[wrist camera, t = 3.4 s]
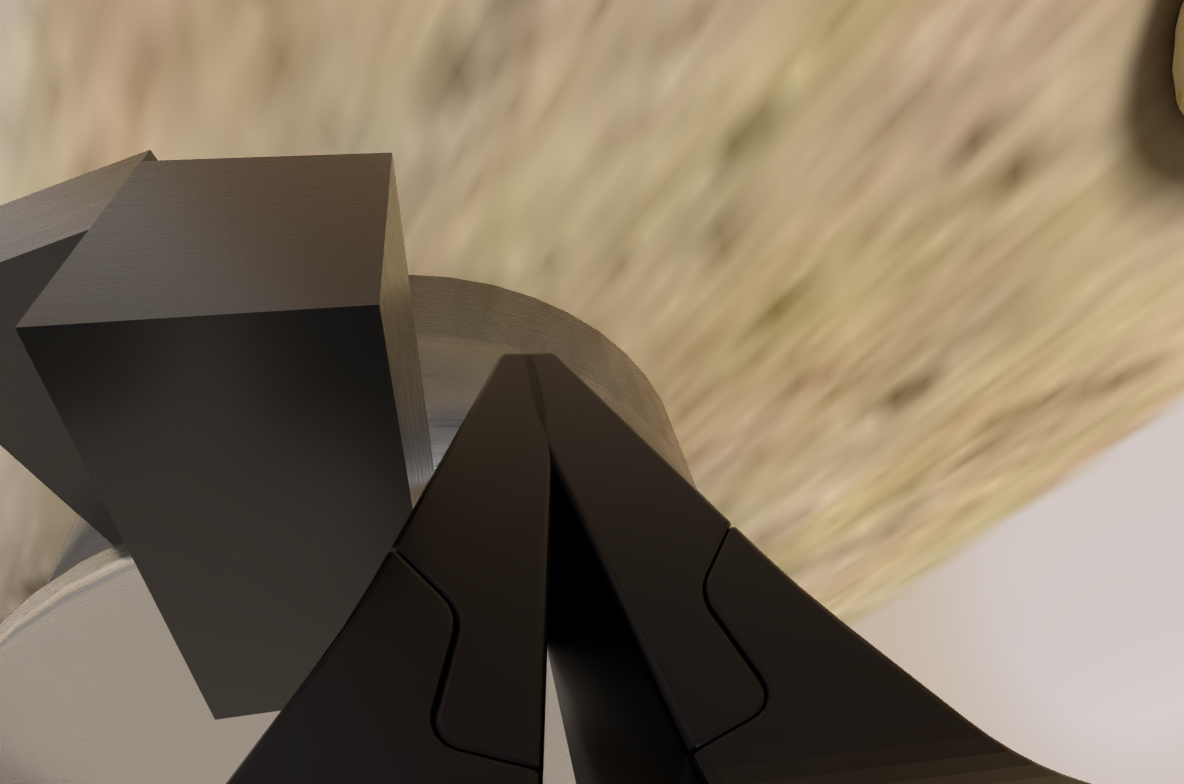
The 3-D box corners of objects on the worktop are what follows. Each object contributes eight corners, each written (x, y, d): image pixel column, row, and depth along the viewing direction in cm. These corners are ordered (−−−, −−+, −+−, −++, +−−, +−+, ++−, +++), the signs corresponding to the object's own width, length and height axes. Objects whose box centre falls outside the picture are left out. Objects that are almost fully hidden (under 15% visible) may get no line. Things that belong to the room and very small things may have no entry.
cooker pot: (720, 581, 26) (795, 780, 21) (306, 718, 27) (278, 944, 21) (524, -49, 14) (587, 52, 8) (-235, 236, 14) (-610, 492, 9)
